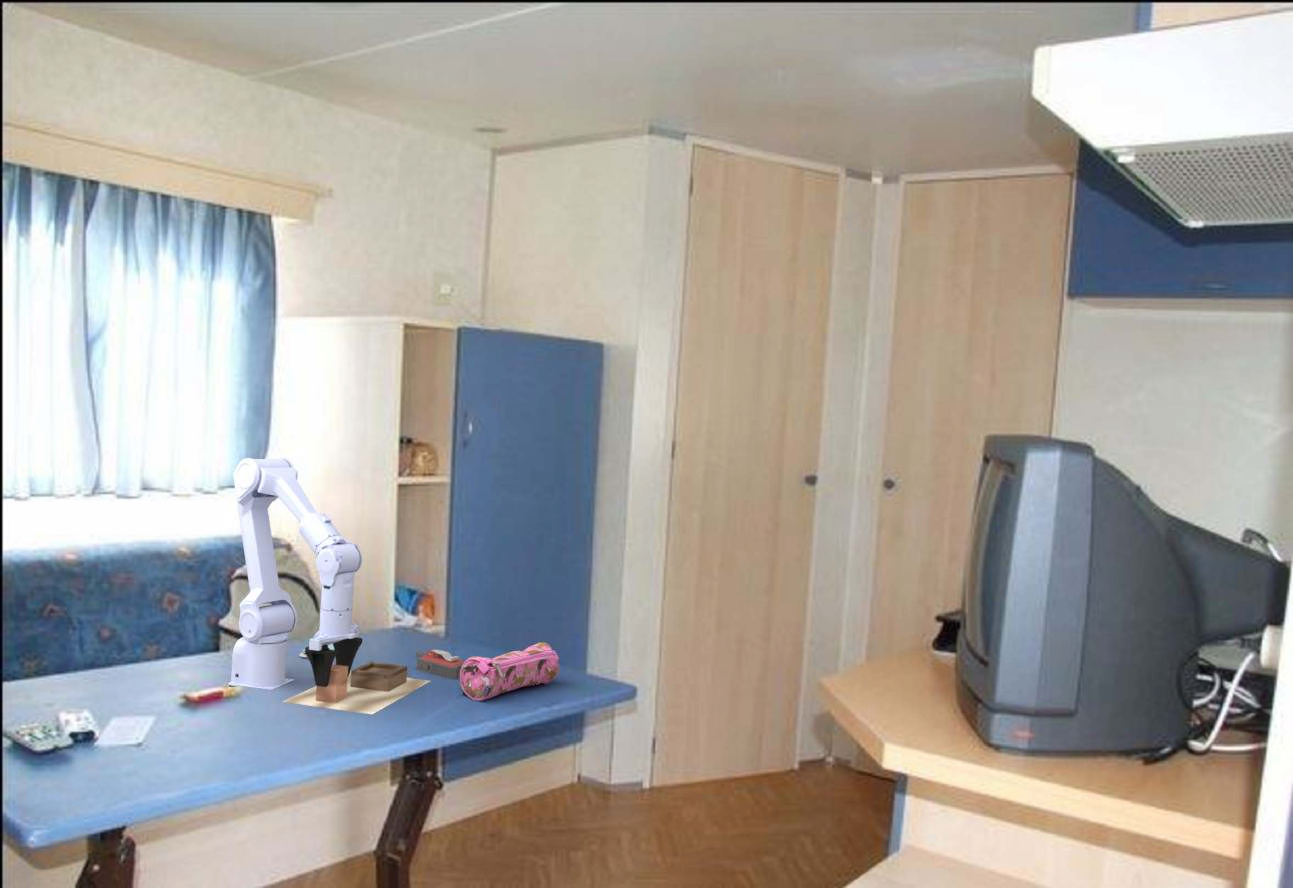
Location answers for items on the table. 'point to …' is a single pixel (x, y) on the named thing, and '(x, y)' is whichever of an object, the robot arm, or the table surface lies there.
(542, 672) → the pencil case
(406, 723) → the table surface
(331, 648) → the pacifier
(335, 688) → the block
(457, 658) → the grey red box
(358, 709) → the build mat
